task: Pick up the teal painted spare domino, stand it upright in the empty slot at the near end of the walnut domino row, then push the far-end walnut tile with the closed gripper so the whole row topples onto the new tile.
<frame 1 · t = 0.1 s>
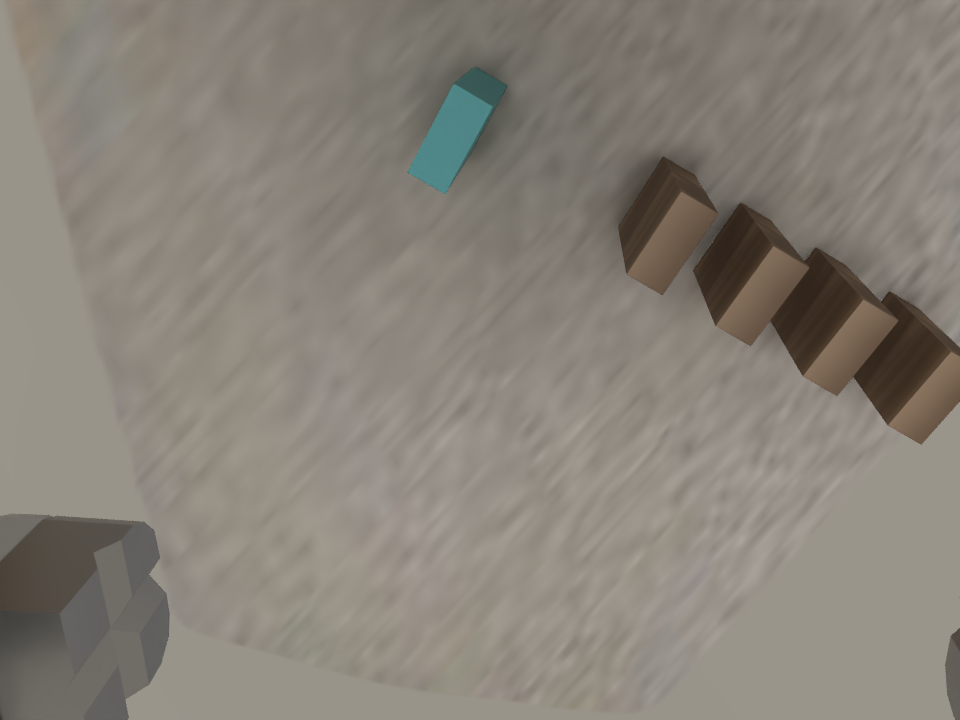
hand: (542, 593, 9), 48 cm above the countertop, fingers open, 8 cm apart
domino 4: (655, 201, 55), on the countertop
domino 3: (731, 246, 56), on the countertop
domino 2: (805, 289, 56), on the countertop
domino 1: (877, 332, 57), on the countertop
spare domino: (471, 113, 54), on the countertop
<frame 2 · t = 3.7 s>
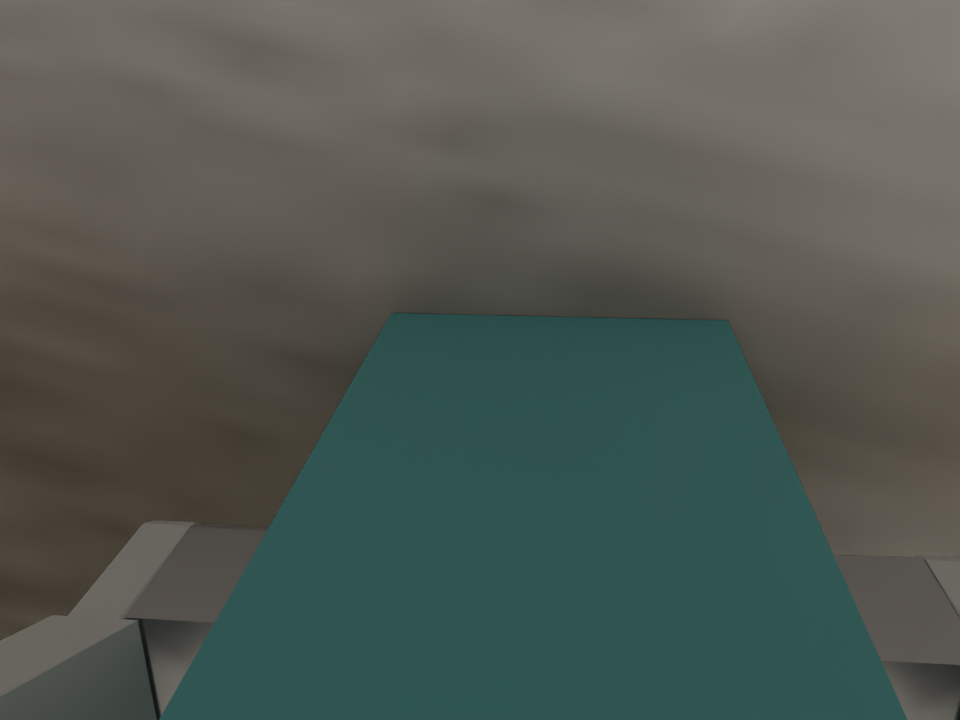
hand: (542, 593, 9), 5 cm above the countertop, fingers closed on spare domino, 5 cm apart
spare domino: (555, 384, 14), on the countertop, touching gripper
when the fingers open (6 cm above the countertop, at t = 10.2 s): spare domino stays where it is, on the countertop.
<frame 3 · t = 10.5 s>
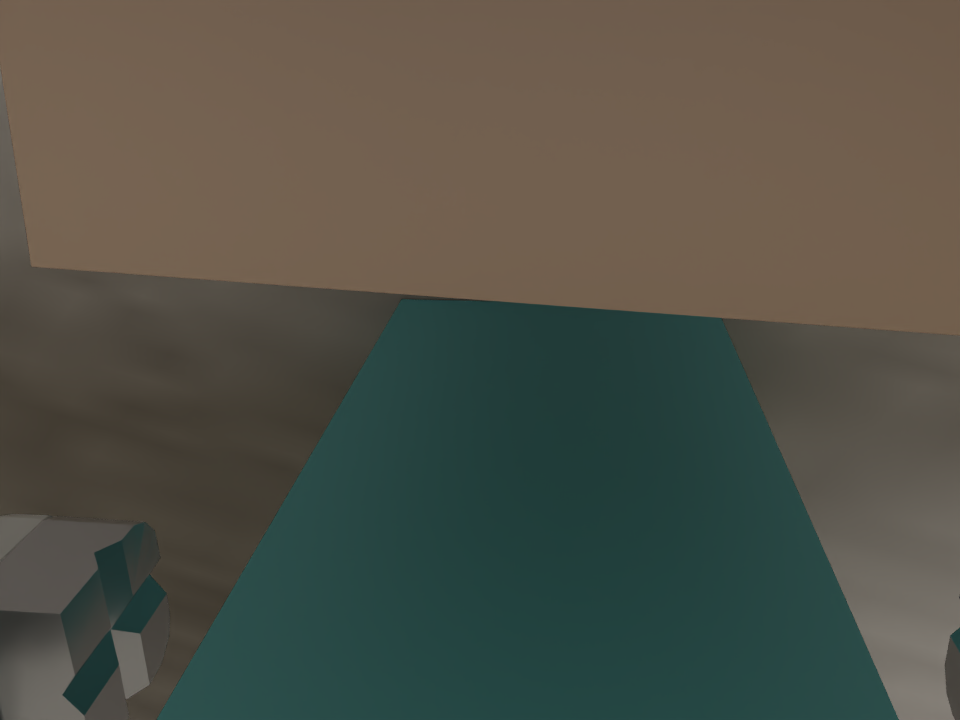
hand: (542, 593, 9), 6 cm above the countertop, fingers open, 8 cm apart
spare domino: (554, 366, 15), on the countertop
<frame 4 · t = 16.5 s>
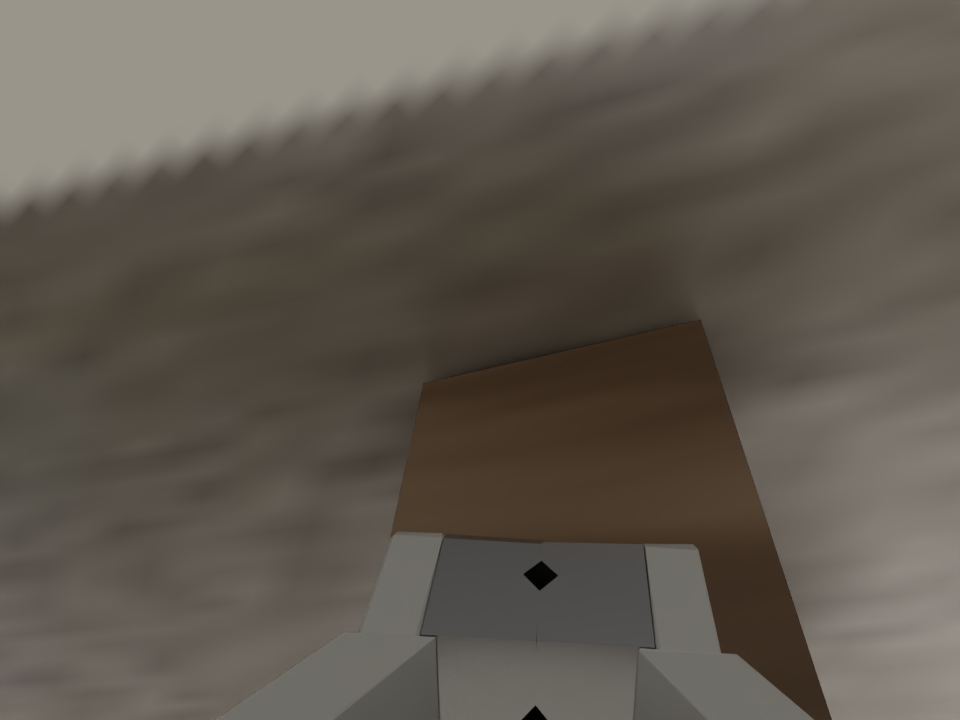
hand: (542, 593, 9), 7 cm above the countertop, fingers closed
domino 1: (572, 403, 16), on the countertop, tilted 8°
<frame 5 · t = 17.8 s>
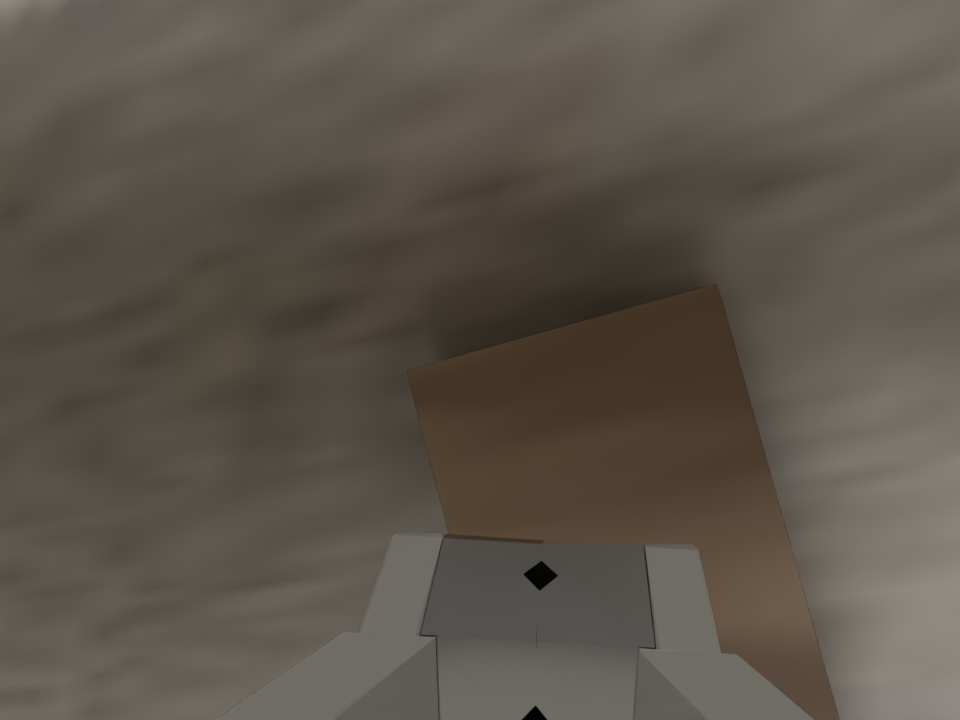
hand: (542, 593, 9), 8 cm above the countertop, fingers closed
domino 1: (564, 330, 15), point 1 cm above the countertop, tilted 67°
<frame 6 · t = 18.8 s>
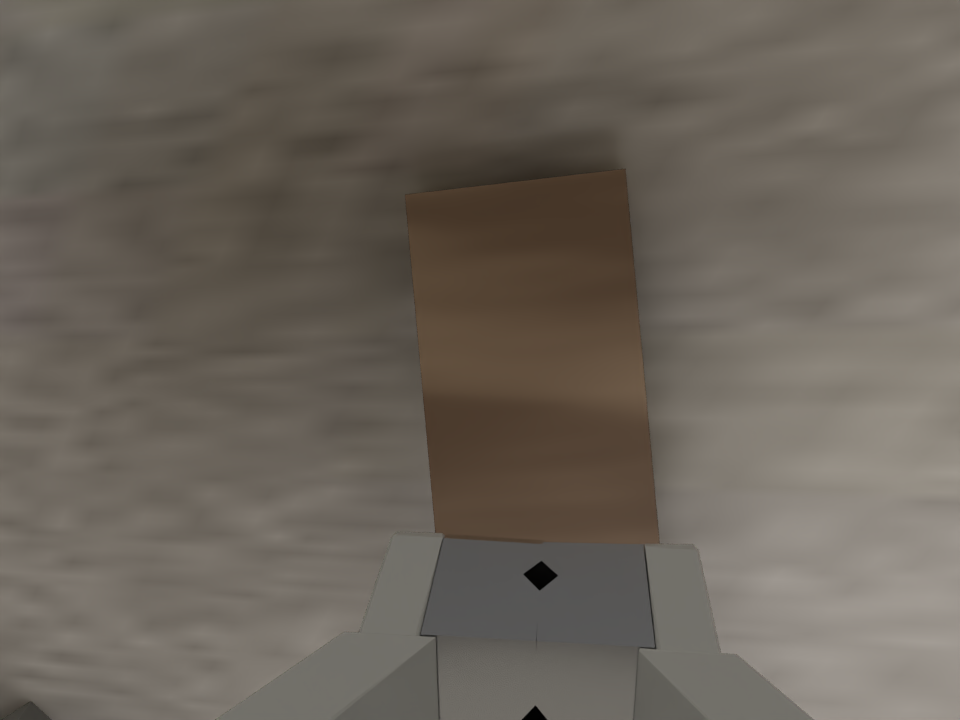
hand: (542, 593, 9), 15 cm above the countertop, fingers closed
domino 1: (517, 190, 21), point 1 cm above the countertop, tilted 67°, touching domino 2
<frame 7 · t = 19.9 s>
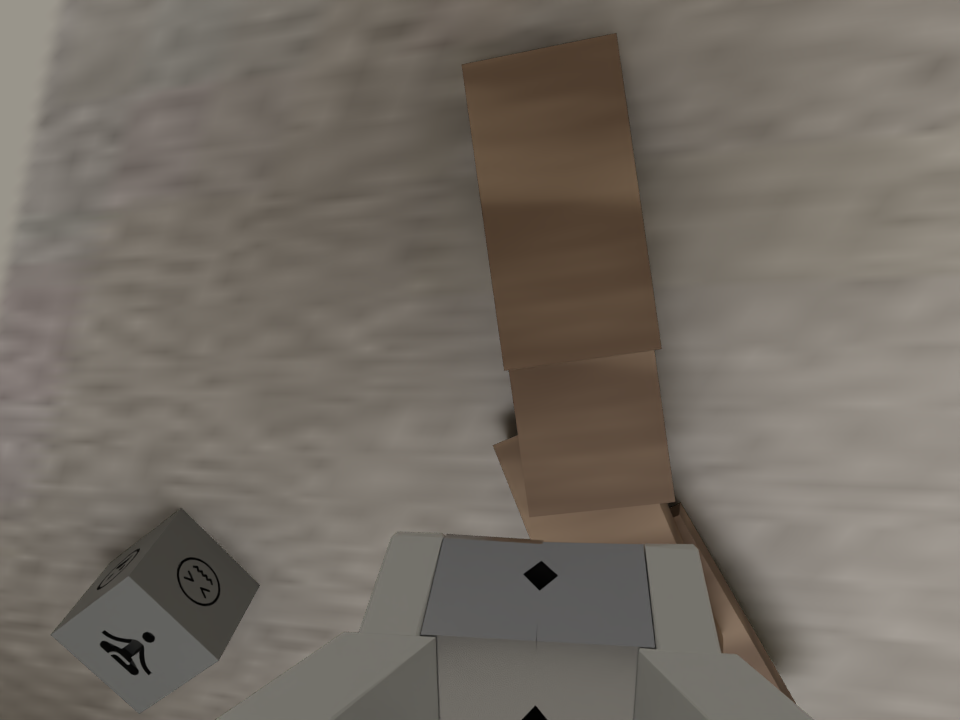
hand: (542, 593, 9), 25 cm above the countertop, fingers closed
domino 4: (624, 536, 36), point 1 cm above the countertop, tilted 70°, touching domino 3, spare domino
domino 3: (557, 419, 35), point 1 cm above the countertop, tilted 66°, touching domino 4
domino 2: (563, 224, 32), point 1 cm above the countertop, tilted 69°, touching domino 1
domino 1: (541, 60, 30), point 1 cm above the countertop, tilted 67°, touching domino 2
grey cube: (186, 570, 41), on the countertop
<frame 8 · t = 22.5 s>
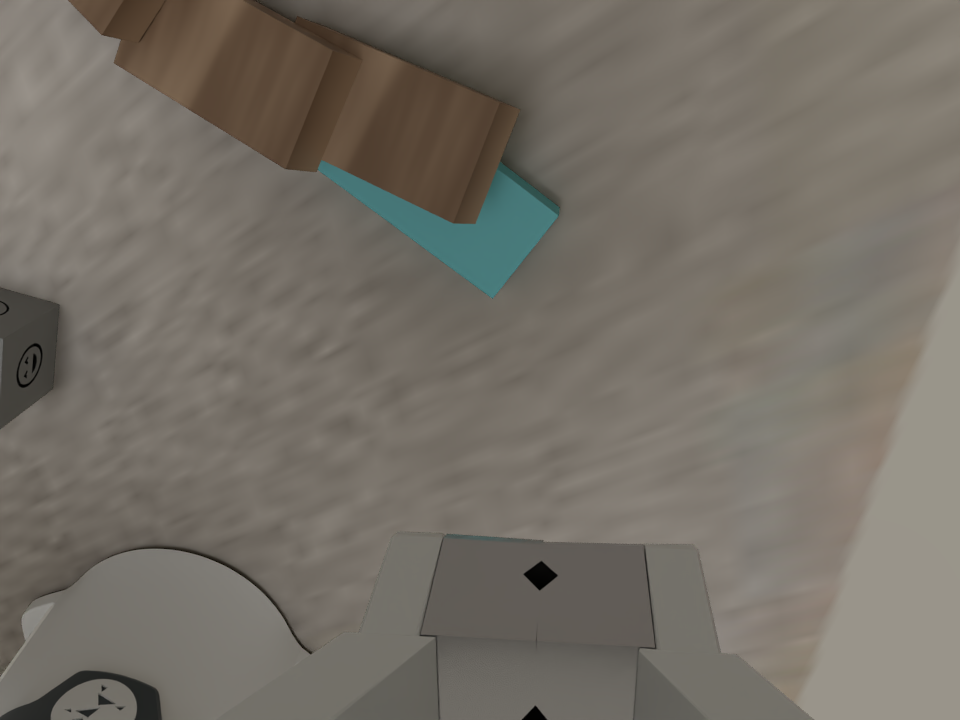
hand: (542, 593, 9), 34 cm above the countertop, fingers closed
domino 4: (294, 78, 39), point 2 cm above the countertop, tilted 68°, touching domino 3, spare domino
domino 3: (150, 12, 39), point 1 cm above the countertop, tilted 68°, touching domino 2, domino 4
grey cube: (12, 332, 48), on the countertop
spare domino: (351, 120, 41), point 1 cm above the countertop, tilted 90°, touching domino 4
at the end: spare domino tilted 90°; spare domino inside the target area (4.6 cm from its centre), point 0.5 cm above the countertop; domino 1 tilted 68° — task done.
